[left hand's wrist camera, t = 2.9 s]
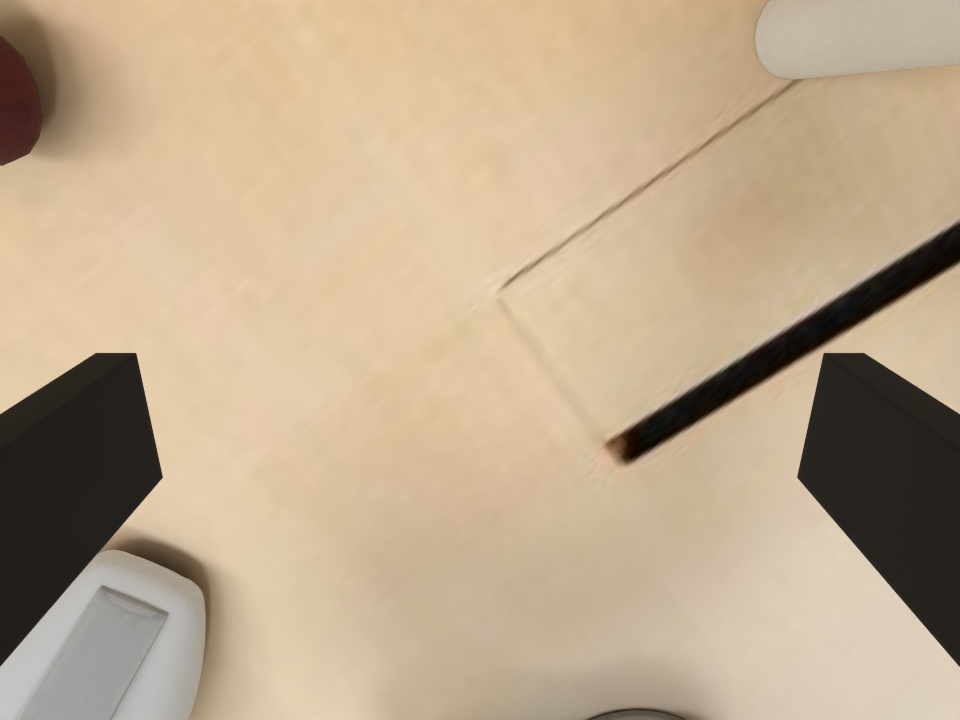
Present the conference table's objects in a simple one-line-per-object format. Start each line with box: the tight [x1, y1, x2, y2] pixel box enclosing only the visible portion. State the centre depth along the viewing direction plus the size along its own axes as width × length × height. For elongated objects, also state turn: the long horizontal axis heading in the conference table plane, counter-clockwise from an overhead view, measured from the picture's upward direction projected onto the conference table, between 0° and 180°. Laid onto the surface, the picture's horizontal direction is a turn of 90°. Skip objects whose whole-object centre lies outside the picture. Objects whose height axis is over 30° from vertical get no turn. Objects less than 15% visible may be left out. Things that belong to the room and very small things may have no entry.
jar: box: [755, 0, 960, 80], centre depth 26 cm, size 5×5×18 cm
